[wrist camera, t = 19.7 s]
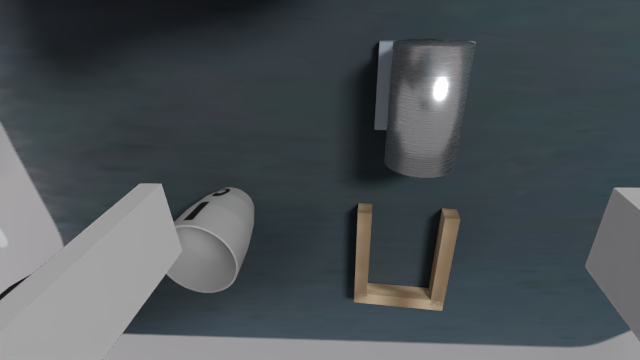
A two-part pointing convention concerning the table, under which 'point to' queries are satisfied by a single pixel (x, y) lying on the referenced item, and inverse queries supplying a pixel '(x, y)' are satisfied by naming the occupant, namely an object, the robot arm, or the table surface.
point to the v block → (384, 84)
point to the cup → (213, 240)
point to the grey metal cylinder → (426, 105)
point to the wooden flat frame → (406, 294)
